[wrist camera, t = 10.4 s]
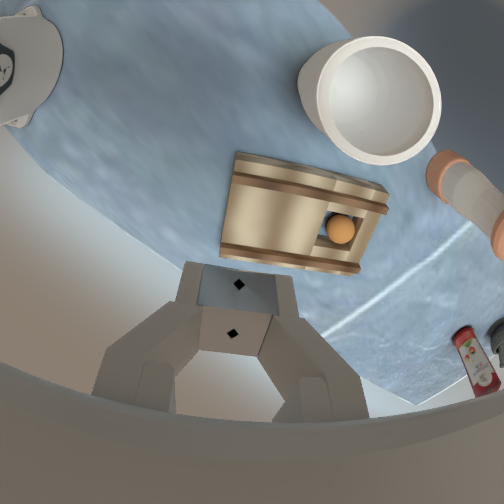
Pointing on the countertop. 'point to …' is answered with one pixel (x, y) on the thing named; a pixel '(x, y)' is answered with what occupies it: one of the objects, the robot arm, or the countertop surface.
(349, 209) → the lane board
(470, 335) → the liquor
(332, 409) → the robot arm
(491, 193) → the pepper shaker
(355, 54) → the jar
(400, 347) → the countertop surface
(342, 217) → the ball
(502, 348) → the mortar and pestle
